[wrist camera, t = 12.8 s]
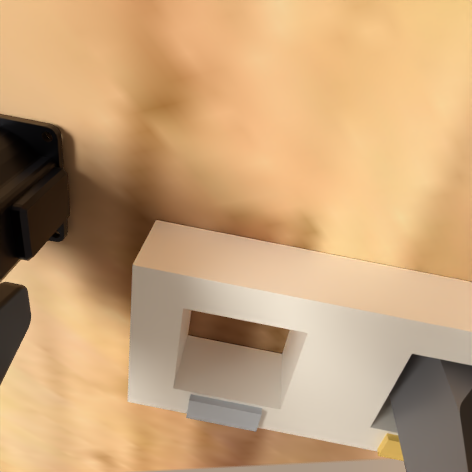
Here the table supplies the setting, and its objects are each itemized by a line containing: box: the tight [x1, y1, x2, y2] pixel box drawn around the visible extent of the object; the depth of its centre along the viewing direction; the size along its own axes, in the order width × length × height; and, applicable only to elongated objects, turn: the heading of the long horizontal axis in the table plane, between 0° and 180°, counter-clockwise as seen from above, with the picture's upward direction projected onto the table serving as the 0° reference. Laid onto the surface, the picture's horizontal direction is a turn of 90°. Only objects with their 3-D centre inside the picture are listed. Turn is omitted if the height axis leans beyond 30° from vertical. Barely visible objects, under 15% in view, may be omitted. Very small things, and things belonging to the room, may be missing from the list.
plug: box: [389, 354, 472, 472], centre depth 19 cm, size 4×4×14 cm
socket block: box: [128, 220, 472, 461], centre depth 24 cm, size 22×10×4 cm, turn 81°
